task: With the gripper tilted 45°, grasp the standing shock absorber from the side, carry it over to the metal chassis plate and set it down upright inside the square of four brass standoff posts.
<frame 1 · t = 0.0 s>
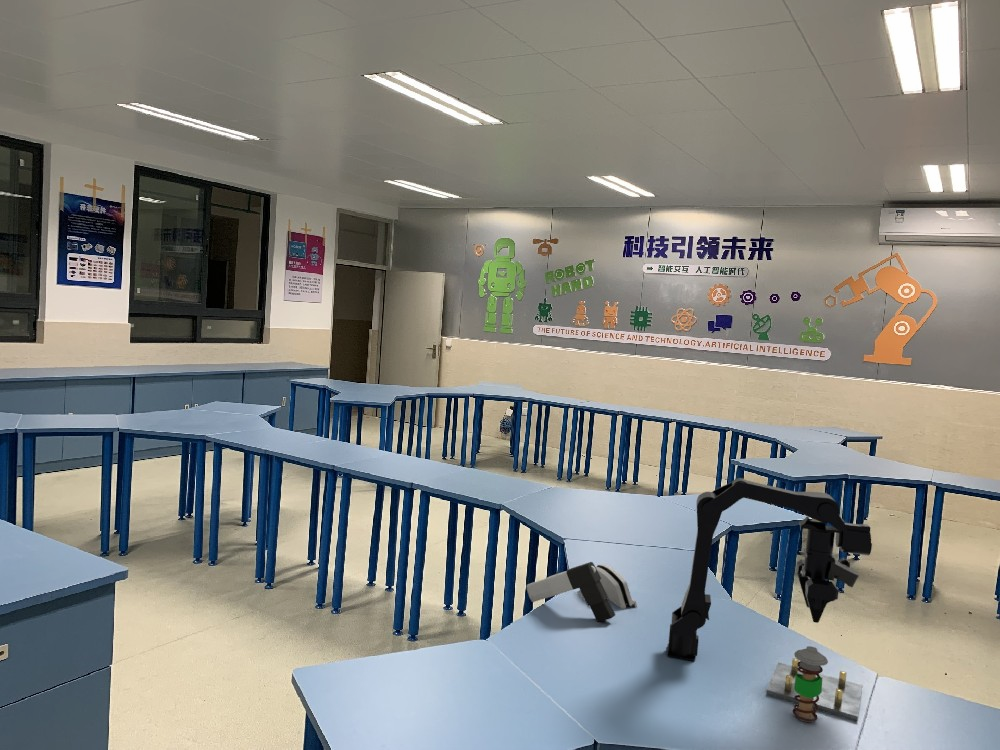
hand: (812, 614, 169), 15 cm above the table, tool pointing down, fingers open, 9 cm apart
handheld device: (568, 611, 199), on the table
chassis: (814, 692, 162), on the table
shock absorber: (804, 719, 150), on the table
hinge: (610, 598, 211), on the table
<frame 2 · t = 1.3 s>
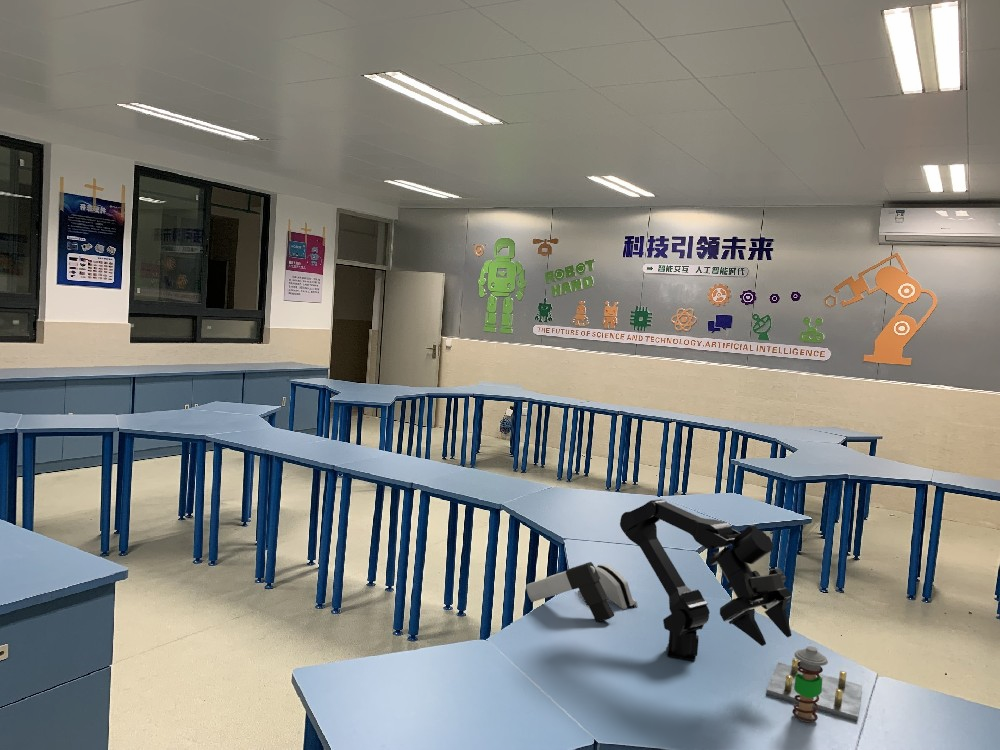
hand: (777, 640, 156), 13 cm above the table, tool tilted 45°, fingers open, 9 cm apart
nothing on the table moved.
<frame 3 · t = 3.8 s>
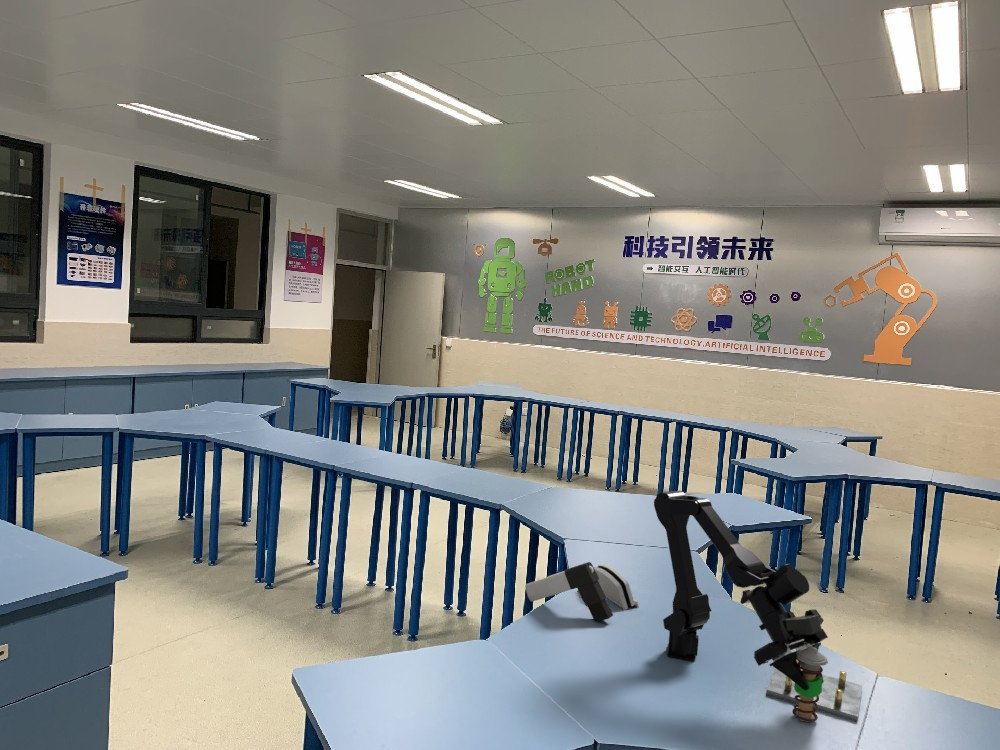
hand: (814, 686, 149), 8 cm above the table, tool tilted 45°, fingers closed on shock absorber, 5 cm apart
shock absorber: (804, 719, 150), on the table, touching gripper
everything else where it was.
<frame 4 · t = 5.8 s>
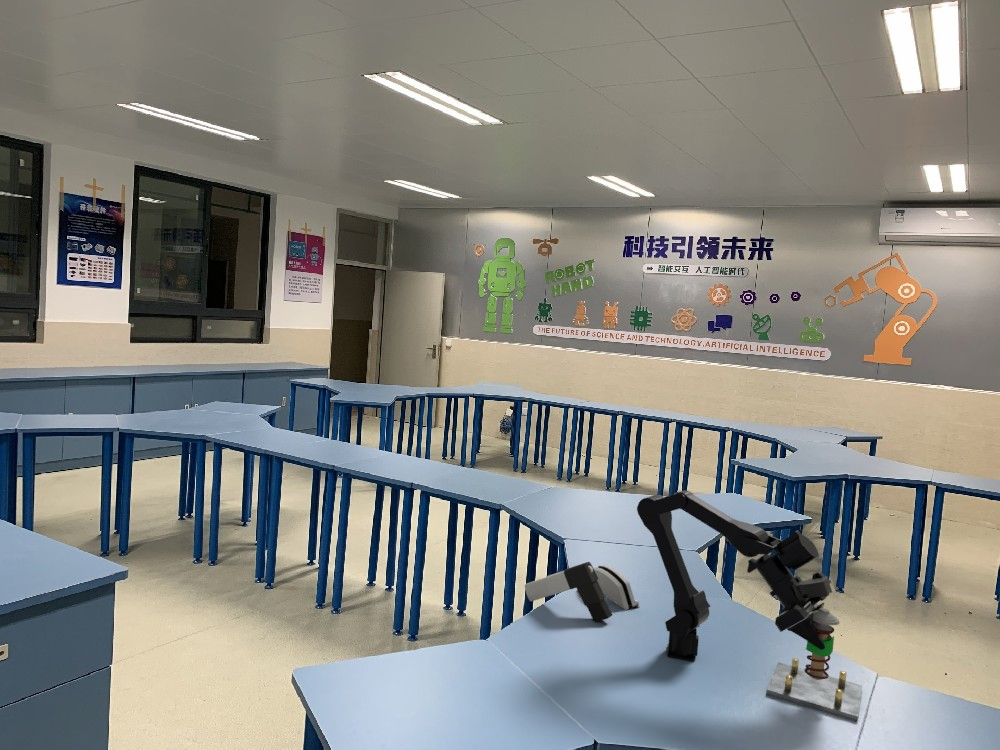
hand: (826, 644, 156), 13 cm above the table, tool tilted 45°, fingers closed on shock absorber, 5 cm apart
shock absorber: (815, 678, 157), point 5 cm above the table, touching gripper
everything else where it was.
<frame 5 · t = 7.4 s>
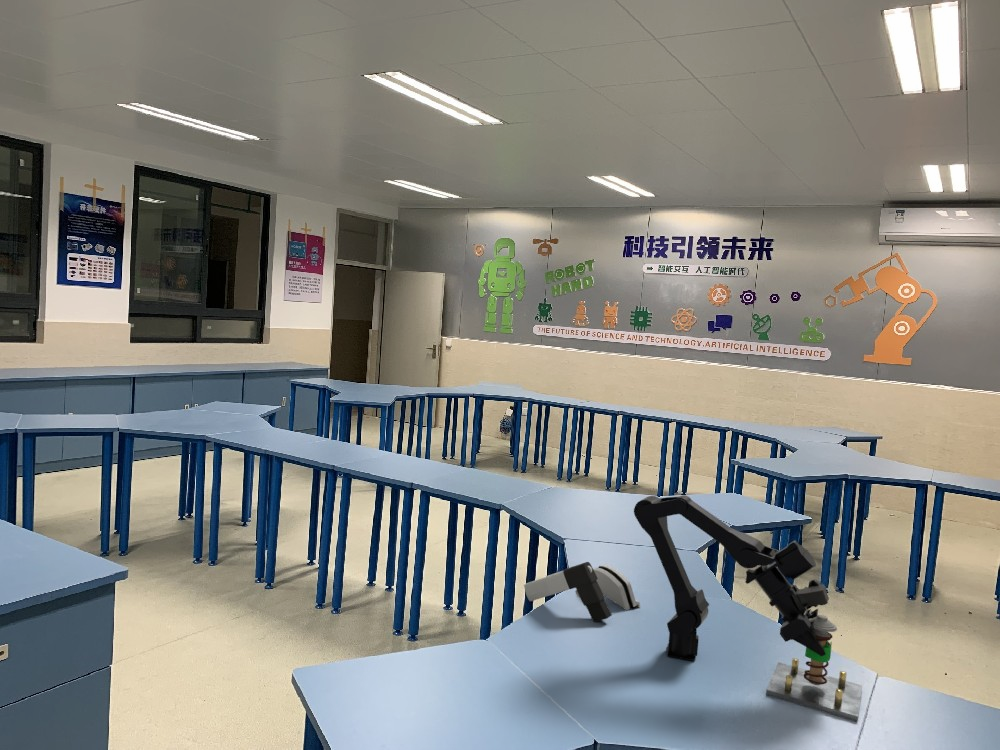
hand: (825, 650, 161), 10 cm above the table, tool tilted 45°, fingers closed on shock absorber, 5 cm apart
shock absorber: (814, 683, 162), point 2 cm above the table, touching gripper
everything else where it was.
when the fingers open (10 cm above the table, at t = 7.7 s): shock absorber drops 1 cm, resting on chassis.
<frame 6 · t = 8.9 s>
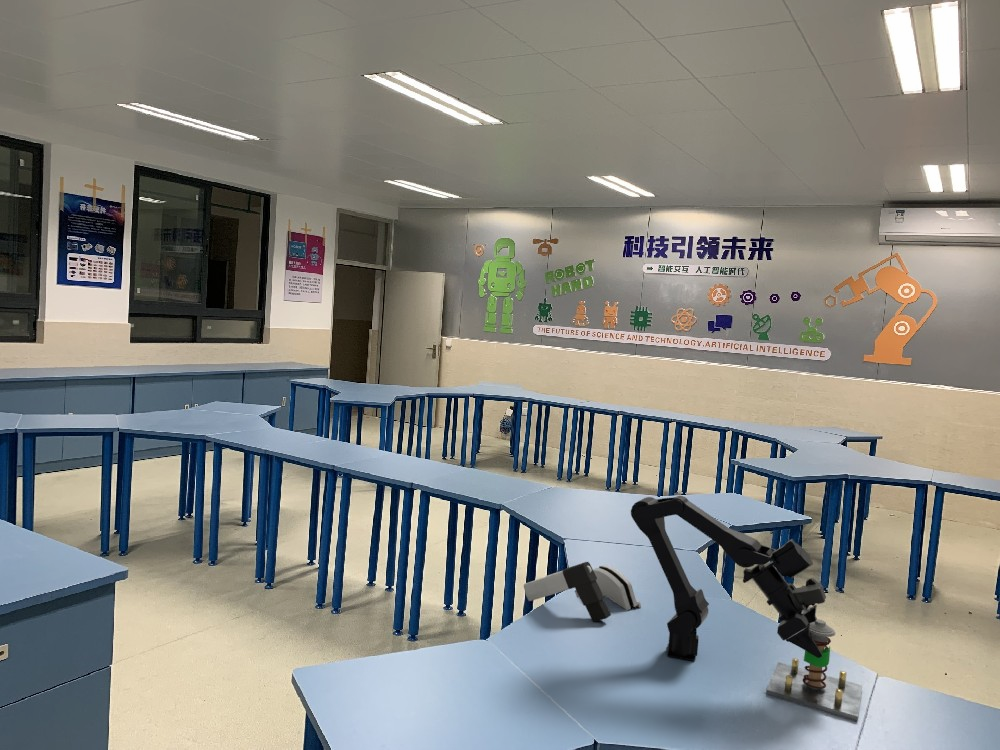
hand: (822, 649, 161), 10 cm above the table, tool tilted 45°, fingers open, 9 cm apart
shock absorber: (813, 687, 162), point 1 cm above the table, touching chassis
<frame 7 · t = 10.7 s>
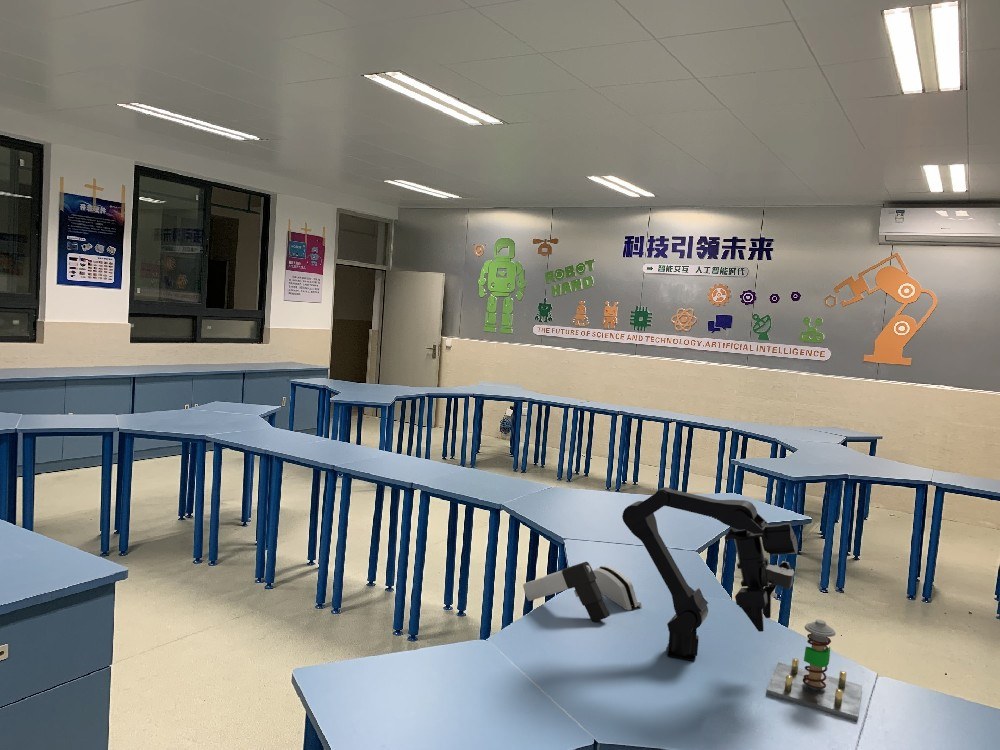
hand: (764, 624, 167), 12 cm above the table, tool tilted 15°, fingers open, 9 cm apart
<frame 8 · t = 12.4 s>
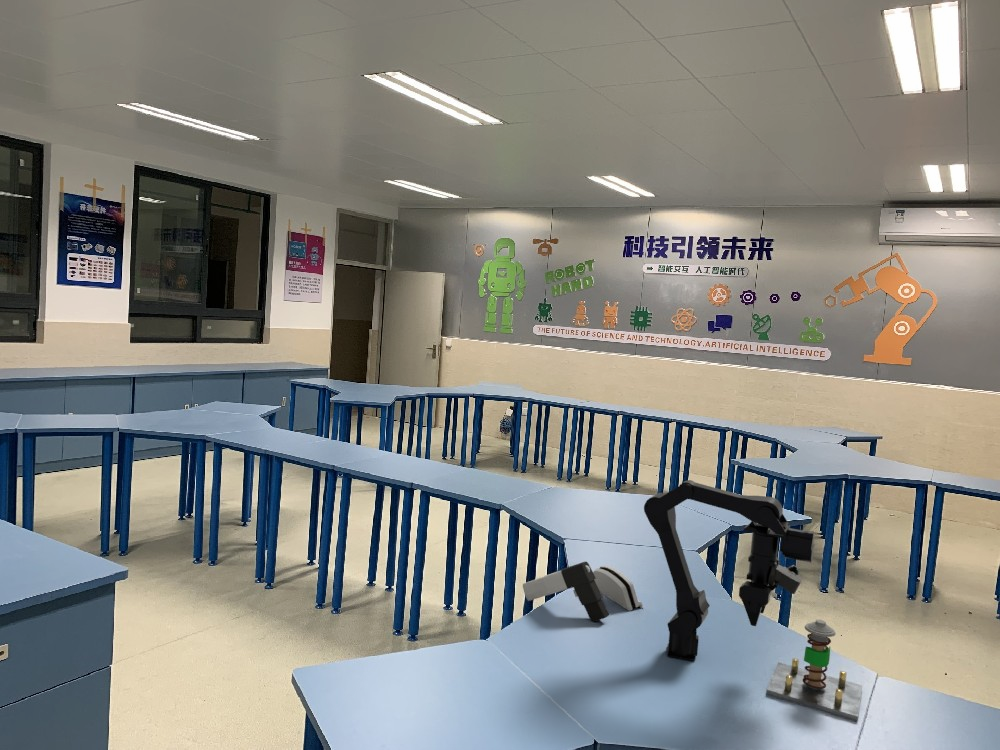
hand: (757, 619, 168), 13 cm above the table, tool pointing down, fingers open, 9 cm apart
at the end: shock absorber 0.3 cm off-centre on the chassis, point 1.0 cm above the chassis's base; shock absorber tilted 0°; the gripper is holding nothing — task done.
